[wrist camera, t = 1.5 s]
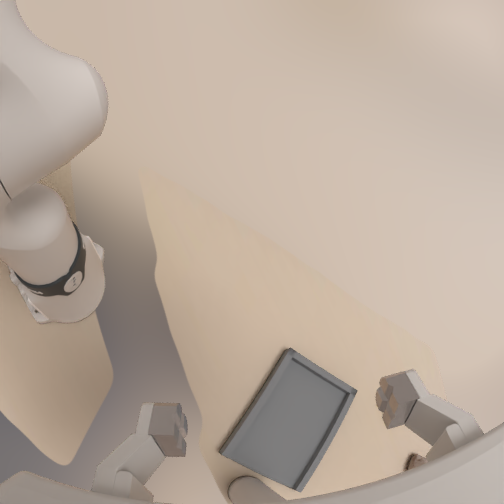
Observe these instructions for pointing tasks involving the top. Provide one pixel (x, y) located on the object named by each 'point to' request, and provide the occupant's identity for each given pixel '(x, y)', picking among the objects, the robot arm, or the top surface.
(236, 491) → the travel mug
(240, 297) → the top surface
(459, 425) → the robot arm
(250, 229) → the top surface
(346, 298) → the top surface
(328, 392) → the slate tray
